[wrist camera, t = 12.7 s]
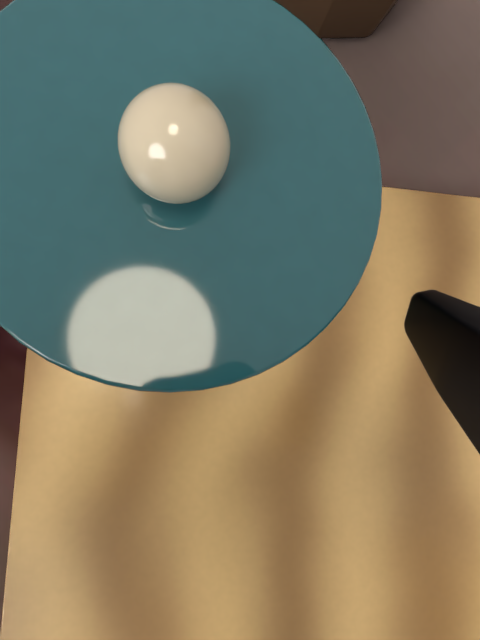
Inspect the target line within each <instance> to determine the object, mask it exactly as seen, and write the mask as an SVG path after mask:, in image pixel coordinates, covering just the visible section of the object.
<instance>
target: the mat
mask: <svg viewBox="0 0 480 640" xmlns="http://www.w3.org/2000/svg"><path fill="white" fill-rule="evenodd" d="M426 290H437V291H439V292H442V293H445V294H447V295H450V296H452V297H455V298H458V299H460V300H463V301H465V302H468V303H471V304H473V305H476V306H478V307H480V198H476V197H467V196H459V195H450V194H441V193H433V192H424V191H415V190H406V189H398V188H389V187H382V202H381V214H380V220H379V226H378V232H377V236H376V240H375V243H374V246H373V250H372V253H371V256H370V260H369V262H368V264H367V267H366V269H365V271H364V273H363V275H362V278H361V280H360V282H359V284H358V286H357V287H356V289H355V291H354V292H353V294H352V295H351V297H350V299H349V300H348V302H347V303H346V305H345V307H344V308H343V309H342V310H341V311H340V313H339V314H338V315H337V316H336V317H335V319H334V320H333V321H332V322H331V323H330V325H329V326H328V327H327V328H326V329H325V330H324V331H323V332H322V333H320V334H319V335H318V336H317V337H316V338H315V339H314V340H313V341H312V342H311V343H309V344H308V345H307V346H306V347H305V348H303V349H302V350H300V351H299V352H297V353H296V354H294V355H293V356H292V357H290V358H289V359H287V360H286V361H284V362H283V363H281V364H279V365H277V366H275V367H273V368H271V369H269V370H267V371H265V372H263V373H261V374H259V375H256V376H254V377H251V378H248V379H245V380H242V381H239V382H236V383H234V384H231V385H226V386H221V387H217V388H212V389H207V390H202V391H191V392H177V393H162V392H144V391H135V390H130V389H125V388H119V387H114V386H109V385H105V384H102V383H99V382H96V381H93V380H90V379H87V378H84V377H81V376H78V375H75V374H73V373H71V372H69V371H67V370H65V369H63V368H61V367H59V366H57V365H55V364H53V363H51V362H48V361H47V360H45V359H44V358H42V357H41V356H39V355H37V354H36V353H34V352H33V351H31V350H30V349H28V348H27V356H26V366H25V377H24V388H23V398H22V409H21V420H20V430H19V441H18V452H17V462H16V473H15V484H14V494H13V505H12V516H11V526H10V537H9V548H8V558H7V569H6V579H5V590H4V601H3V611H2V622H1V633H0V640H480V454H479V453H478V451H477V450H476V448H475V447H474V445H473V444H472V443H471V441H470V440H469V438H468V437H467V435H466V434H465V432H464V431H463V429H462V428H461V426H460V425H459V423H458V422H457V420H456V419H455V417H454V416H453V414H452V413H451V411H450V410H449V409H448V407H447V406H446V404H445V403H444V401H443V400H442V398H441V396H440V395H439V393H438V392H437V390H436V388H435V387H434V385H433V383H432V381H431V380H430V378H429V376H428V374H427V372H426V370H425V368H424V366H423V364H422V363H421V361H420V359H419V357H418V355H417V353H416V351H415V349H414V348H413V346H412V344H411V342H410V340H409V338H408V336H407V334H406V332H405V329H404V321H405V317H406V314H407V310H408V307H409V304H410V300H411V297H412V296H413V295H414V294H415V293H417V292H421V291H426Z"/></svg>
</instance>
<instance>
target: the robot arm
mask: <svg viewBox="0 0 480 640" xmlns="http://www.w3.org/2000/svg"><path fill="white" fill-rule="evenodd" d="M404 329H405V332H406V334H407V336H408V338H409V340H410V342H411V344H412V346H413V348H414V349H415V351H416V353H417V355H418V357H419V359H420V361H421V363H422V364H423V366H424V368H425V370H426V372H427V374H428V376H429V378H430V380H431V381H432V383H433V385H434V387H435V388H436V390H437V392H438V393H439V395H440V396H441V398H442V400H443V401H444V403H445V404H446V406H447V407H448V409H449V410H450V411H451V413H452V414H453V416H454V417H455V419H456V420H457V422H458V423H459V425H460V426H461V428H462V429H463V431H464V432H465V434H466V435H467V437H468V438H469V440H470V441H471V443H472V444H473V445H474V447H475V448H476V450H477V451H478V453H479V454H480V307H478V306H476V305H473V304H471V303H468V302H465V301H463V300H460V299H458V298H455V297H452V296H450V295H447V294H445V293H442V292H439V291H437V290H426V291H421V292H417V293H415V294H414V295H413V296H412V297H411V300H410V304H409V307H408V310H407V314H406V317H405V321H404Z"/></svg>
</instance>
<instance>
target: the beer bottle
mask: <svg viewBox="0 0 480 640" xmlns="http://www.w3.org/2000/svg"><path fill="white" fill-rule="evenodd" d="M274 1H276V2H277V3H279V4H281V5H282V6H283V7H285V8H286V9H287V10H289V11H290V12H291V13H292V14H294V15H295V16H296V17H298V18H299V19H300V20H301V21H303V22H304V23H305V24H306V25H307V26H308V27H309V28H310V29H311V30H312V31H313V32H314V33H315V34H316V35H317V36H318V37H319V38H345V37H367V36H369V35H371V34H372V32H373V31H374V30H375V29H376V27H377V26H378V25H379V24H380V22H381V21H382V20H383V19H384V17H385V16H386V15H387V13H388V12H389V11H390V10H391V8H392V7H393V6H394V5H395V3H396V2H397V1H398V0H274Z"/></svg>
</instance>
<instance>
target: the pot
mask: <svg viewBox="0 0 480 640" xmlns="http://www.w3.org/2000/svg"><path fill="white" fill-rule="evenodd" d="M381 202H382V176H381V166H380V156H379V152H378V147H377V143H376V138H375V134H374V130H373V127H372V124H371V122H370V119H369V116H368V113H367V110H366V107H365V105H364V103H363V101H362V99H361V97H360V95H359V93H358V91H357V89H356V87H355V85H354V83H353V82H352V80H351V78H350V77H349V75H348V74H347V72H346V71H345V69H344V68H343V66H342V64H341V63H340V61H339V60H338V59H337V58H336V57H335V55H334V54H333V53H332V52H331V50H330V49H329V48H328V47H327V46H326V44H325V43H324V42H323V41H322V40H321V39H320V38H319V37H318V36H317V35H316V34H315V33H314V32H313V31H312V30H311V29H310V28H309V27H308V26H307V25H306V24H305V23H304V22H303V21H301V20H300V19H299V18H298V17H296V16H295V15H294V14H292V13H291V12H290V11H289V10H287V9H286V8H285V7H283V6H282V5H281V4H279V3H277V2H276V1H274V0H13V1H12V2H11V3H9V4H8V5H7V6H6V7H4V8H3V9H2V10H1V11H0V326H1V327H2V328H3V329H4V330H6V331H7V332H8V333H9V334H10V335H11V336H12V337H14V338H15V339H16V340H17V341H18V342H19V343H21V344H22V345H24V346H25V347H27V348H28V349H30V350H31V351H33V352H34V353H36V354H37V355H39V356H41V357H42V358H44V359H45V360H47V361H48V362H51V363H53V364H55V365H57V366H59V367H61V368H63V369H65V370H67V371H69V372H71V373H73V374H75V375H78V376H81V377H84V378H87V379H90V380H93V381H96V382H99V383H102V384H105V385H109V386H114V387H119V388H125V389H130V390H135V391H144V392H162V393H177V392H191V391H202V390H207V389H212V388H217V387H221V386H226V385H231V384H234V383H236V382H239V381H242V380H245V379H248V378H251V377H254V376H256V375H259V374H261V373H263V372H265V371H267V370H269V369H271V368H273V367H275V366H277V365H279V364H281V363H283V362H284V361H286V360H287V359H289V358H290V357H292V356H293V355H294V354H296V353H297V352H299V351H300V350H302V349H303V348H305V347H306V346H307V345H308V344H309V343H311V342H312V341H313V340H314V339H315V338H316V337H317V336H318V335H319V334H320V333H322V332H323V331H324V330H325V329H326V328H327V327H328V326H329V325H330V323H331V322H332V321H333V320H334V319H335V317H336V316H337V315H338V314H339V313H340V311H341V310H342V309H343V308H344V307H345V305H346V303H347V302H348V300H349V299H350V297H351V295H352V294H353V292H354V291H355V289H356V287H357V286H358V284H359V282H360V280H361V278H362V275H363V273H364V271H365V269H366V267H367V264H368V262H369V260H370V256H371V253H372V250H373V246H374V243H375V240H376V236H377V232H378V226H379V220H380V214H381Z"/></svg>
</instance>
